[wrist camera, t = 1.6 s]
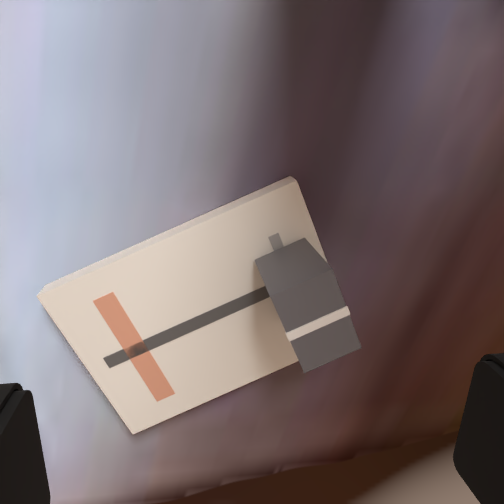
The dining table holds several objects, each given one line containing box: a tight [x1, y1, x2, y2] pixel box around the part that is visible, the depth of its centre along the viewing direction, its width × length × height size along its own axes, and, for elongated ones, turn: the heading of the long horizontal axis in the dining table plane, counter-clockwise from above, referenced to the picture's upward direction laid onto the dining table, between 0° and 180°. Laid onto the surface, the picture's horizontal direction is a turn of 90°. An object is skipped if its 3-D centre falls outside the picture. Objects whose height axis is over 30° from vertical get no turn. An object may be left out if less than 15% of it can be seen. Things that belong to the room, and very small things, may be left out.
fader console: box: [37, 176, 327, 434], centre depth 32 cm, size 20×14×2 cm
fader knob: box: [254, 238, 362, 373], centre depth 28 cm, size 4×6×6 cm
